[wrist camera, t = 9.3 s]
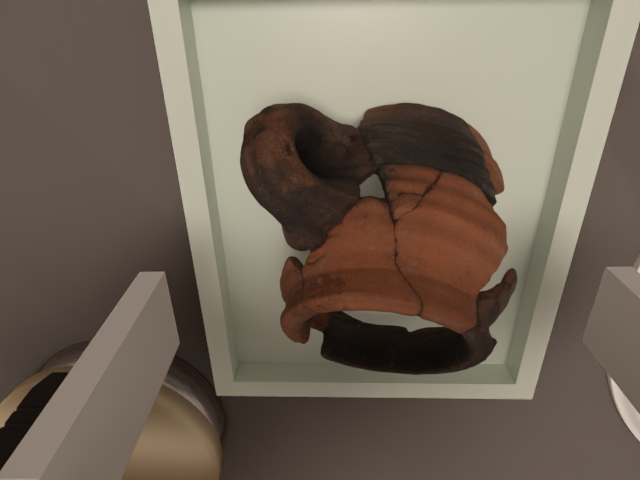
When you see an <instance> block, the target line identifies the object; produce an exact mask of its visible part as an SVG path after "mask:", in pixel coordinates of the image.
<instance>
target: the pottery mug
mask: <svg viewBox="0 0 640 480" xmlns="http://www.w3.org/2000/svg"><path fill="white" fill-rule="evenodd" d="M240 167H241V171H242V175H243V178H244V181H245V183H246V185H247V187H248V189H249V191H250V192H251V194H252V195H253V197H254V198H255V199H256V201H257V202H258V203H259V204H260V206H262V207H263V208H264V209H266V210H267V211H268V212H269V213H270V214H271V215H272V216H273V217H274V218H275V219H276V220H277V221H278V222H279V223H280V224H281V225H282V231H283V234H284V238H285V240H286V242H287V244H288V245H289V246H290V247H291V248H293V249H295V250H298V251H306V250H310V254H309V256H308V257H307V259H306V263H305V265H303V264H302V263H301V262H300V260H299V259H298V258H297V257H294V256H290V257H288V258H287V260H286V261H285V264H284V267H283V270H282V275H281V278H280V290H281V294H282V298H283V300H284V302H285V303H286V305H285V309H284V310H283V312H282V313H281V317H280V325H281V328H282V331H283V332H284V333H285V335H286V336H287V337H288V338H289V339H290V340H292V341H293V342H298V343H301V344H305V343H307V342H308V340H309V337H310V330H311V328H313V329H315V330H317V331H320V332H322V333H323V343H322V346H321V352H320V354H321V356H322V357H323V358H325V359H326V360H329V361H333V362H335V363H339V364H342V365H346V366H350V367H354V368H359V369H365V370H370V371H376V372H386V373H399V374H412V375H421V374H443V373H454V372H458V371H462V370H466V369H469V368H470V367H474V366H476V365H478V364H480V363H481V362H483V361H485V360H486V359H487V357H488V356H489V355H490V354H491V353H492V351H493V349H494V347H495V346H496V344H497V340H496V339H494V338H492V336H491V334H490V332H489V327H490V326H491V325H492V324H493V323H494V322H495V321H496V320H497V318H498V317H499V316H500V314H501V313H502V312H503V311H504V309H505V308H506V306H507V304H508V302H509V300H510V297H511V295H512V294H513V293H514V291H515V288H516V284H517V272H516V270H515V269H514V268H511V269H509V270H507V271H506V273H505V274H504V276H503V278H502V280H501V282H500V283H498V284H496V285H495V286H494V287H493V288H491V289H489V290H486V291H480V290H481V289H482V288H483V287H485V286H486V284H487V283H488V282H489V281H490V279H491V276H492V275H493V274H494V273H495V272H496V271H497V270H498V268H499V266H500V265H501V262H502V260H503V258H504V257H505V255H506V254H507V252H508V245H507V232H506V224H505V223H504V222H503V220H502V219H501V218H500V217H499V215H498V214H497V213H496V212H495V211H494V209H493V206H494V205H495V204H496V203H497V200H496V198H495V195H498V194H500V193H502V192H503V191H504V181H503V176H502V173H501V170H500V168H499V166H498V164H497V162H496V161H495V160H494V159H493V157H492V154H491V151H490V149H489V147H488V145H487V143H486V141H485V140H484V138H483V137H482V136H481V134H480V133H479V132H478V131H477V130H475V129H474V128H473V127H472V126H471V125H470V124H468V123H466V121H465V120H463V119H462V118H460V117H458V116H456V115H454V114H452V113H449V112H447V111H445V110H444V109H441V108H436V107H431V106H426V105H423V104H418V103H398V104H394V105H383V106H379V107H374V108H371V109H368V110H367V111H366V112H365V114H364V119H363V120H361V122H360V125H359V126H358V127H357V128H355V127H354V126H352V125H348V124H341V123H339V122H337V121H335V120H332V119H331V118H329V117H327V116H325V115H324V114H322V113H321V112H320V111H319V110H317V109H315V108H313V107H311V106H309V105H306V104H303V103H288V104H284V103H282V104H273V105H271V106H267V107H265V108H264V109H263V110H261V112H260V113H258V114H256V115H254V116H253V117H252V118H250V119H249V120H248V121H247V122H246V124H245V127H244V135H243V143H242V146H241V152H240ZM373 174H376V175H377V176H378V177H379V180H380V182H381V185H382V189H383V191H384V195H385V197H384V198H378V197H374V196H365V197H360V186H359V185H361V184H362V183H363V182H364V181H365V180H366V179H368V178H369V177H371V176H372V175H373ZM343 311H377V312H390V313H396V314H400V315H407V316H419V317H420V318H422V319H424V320H427V321H431V322H434V323H437V324H439V325H442V326H444V327H425V328H421V329H417V330H415V331H412V332H409V331H408V330H407V328H405V327H401V326H395V325H377V324H371V323H365V322H362V321H360V320H358V319H355V318H353V317H352V316H350V315H348V314H346V313H344V312H343Z"/></svg>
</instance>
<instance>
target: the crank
mask: <svg viewBox="0 0 640 480" xmlns="http://www.w3.org/2000/svg"><path fill="white" fill-rule="evenodd" d="M72 368H73V366H65V367H59V368H53V369H50V370H46V371H42V372H40V373H37V374H35V375H33V376H31V377H29V378H27V379H25V380H24V381H22V382H21V383H19V384H18V385H17V386H16V387H15V388H14V389H13V390H12V391H11V392H10V393H9V394H8V395H7V397H6V398H5V399H4V400H3V401H2V403H1V404H0V428H1V427H4V425H5V422H6V421H7V419H8V418H9V417H10V415H11V414H12V413H13V411H16V410H17V406H18V405H19V404H20V402H21V401H22V400H23V398H24V397H25V396H26V395H27V393H28V392H29V391H30V389H31V388H33V387H34V386H35V385H36V384H38V383H39V382H40V381H42V380H43V379H44V378H45V377H47V376H48V375H49V374H51V373H52V372H70V371H71V369H72ZM222 465H223V450H222V446H221V443H220V439H219V437H218V435H217V433H216V431H215V429H214V428H213V426H212V425H211V423H210V422H209V420H208V419H207V418H206V417H205V416H204V414H203V413H202V412H201V411H200V410H199V409H198V408H197V407H196V406H194V405H193V404H192V403H191V402H190V401H189V400H187V399H186V398H184V397H183V396H182V395H180V394H179V393H177V392H176V391H174V390H172V389H170V388H169V387H167V386H165V385H163V384H162V386H161V388H160V390H159V393H158V395H157V397H156V400H155V402H154V404H153V407H152V409H151V411H150V414H149V416H148V418H147V421H146V423H145V425H144V427H143V430H142V432H141V434H140V437H139V439H138V441H137V444H136V446H135V448H134V451H133V453H132V455H131V458H130V460H129V462H128V465H127V467H126V469H125V472H124V474H123V476H122V479H121V480H219V479H220V475H221V471H222Z"/></svg>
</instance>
